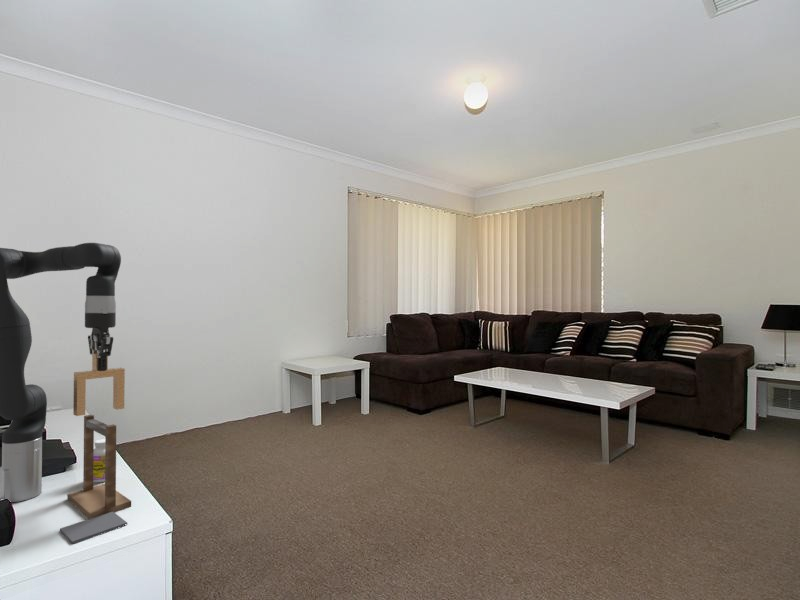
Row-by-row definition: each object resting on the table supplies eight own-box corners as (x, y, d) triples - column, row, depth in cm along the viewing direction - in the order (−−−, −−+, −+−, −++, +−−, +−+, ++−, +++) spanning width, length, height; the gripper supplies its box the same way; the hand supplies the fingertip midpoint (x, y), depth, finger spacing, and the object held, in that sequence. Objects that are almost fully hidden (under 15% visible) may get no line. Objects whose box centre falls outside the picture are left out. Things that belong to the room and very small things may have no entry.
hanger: (76, 416, 124) (77, 355, 124) (73, 414, 126) (74, 354, 126) (124, 408, 134) (124, 352, 134) (120, 406, 135) (120, 351, 136)
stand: (90, 519, 119) (91, 430, 120) (67, 499, 132) (68, 418, 132) (131, 506, 127) (131, 422, 127) (105, 488, 140) (106, 412, 140)
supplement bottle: (87, 484, 143) (87, 444, 143) (94, 476, 149) (95, 438, 149) (110, 482, 145) (111, 442, 145) (117, 474, 151) (117, 436, 151)
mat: (72, 544, 107) (72, 541, 107) (59, 530, 113) (59, 528, 113) (127, 524, 116) (127, 522, 116) (112, 513, 123) (112, 511, 123)
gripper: (77, 311, 132) (76, 369, 131) (93, 311, 123) (93, 374, 123) (106, 311, 137) (105, 366, 137) (124, 311, 129) (123, 371, 128)
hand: (100, 369), depth 130 cm, fingers closed on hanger, 3 cm apart
